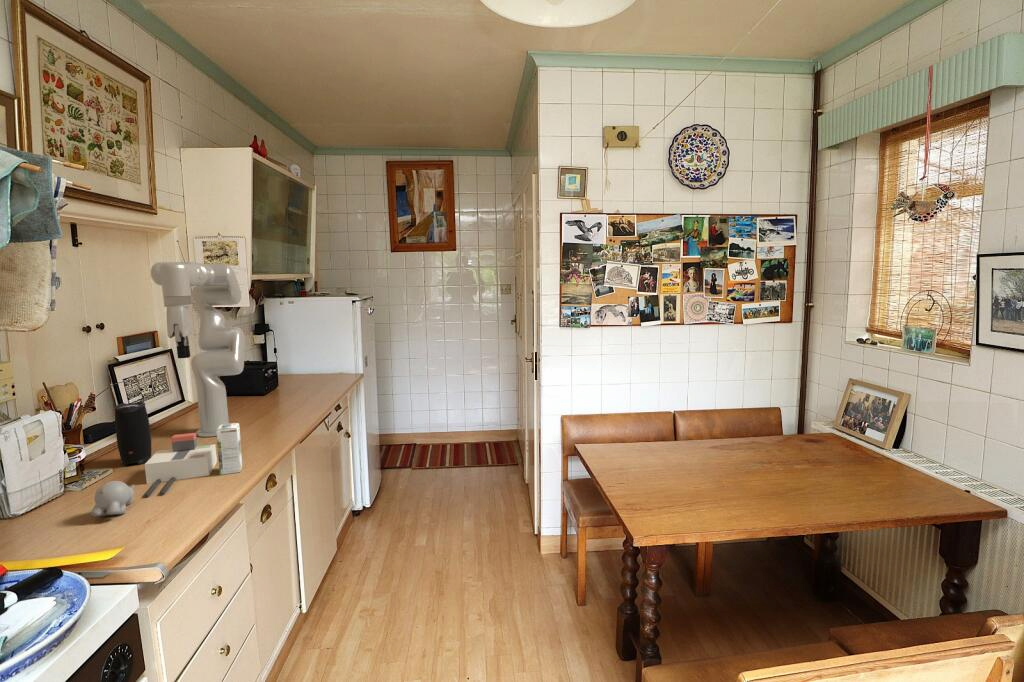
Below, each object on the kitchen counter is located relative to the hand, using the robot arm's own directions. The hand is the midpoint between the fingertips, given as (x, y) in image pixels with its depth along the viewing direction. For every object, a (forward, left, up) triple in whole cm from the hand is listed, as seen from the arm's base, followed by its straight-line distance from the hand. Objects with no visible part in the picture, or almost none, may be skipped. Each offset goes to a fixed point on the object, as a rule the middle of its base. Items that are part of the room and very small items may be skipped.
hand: (184, 357), depth 163 cm
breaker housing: (+14, 0, -34) cm, 37 cm away
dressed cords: (+25, -3, -34) cm, 43 cm away
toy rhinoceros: (+37, -9, -34) cm, 52 cm away
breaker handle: (+10, 0, -28) cm, 29 cm away
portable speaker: (-2, -17, -34) cm, 38 cm away
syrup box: (+18, +14, -34) cm, 41 cm away
